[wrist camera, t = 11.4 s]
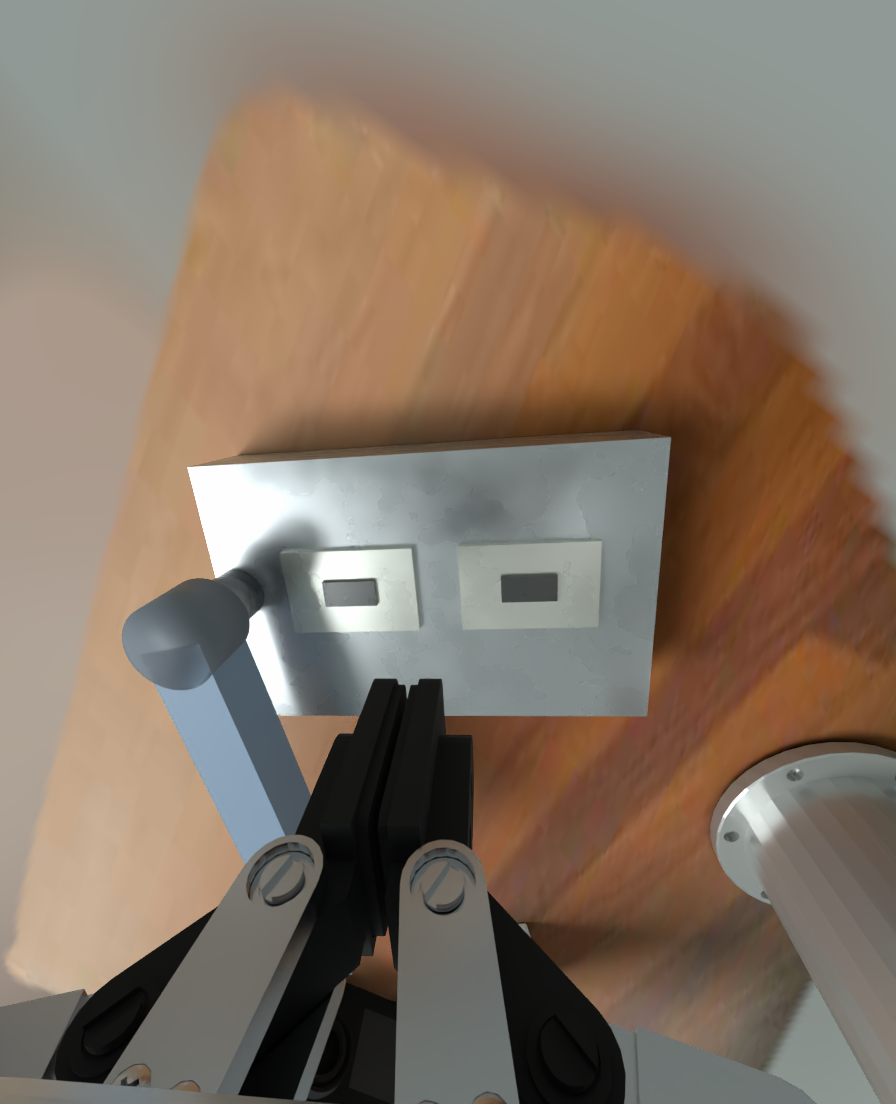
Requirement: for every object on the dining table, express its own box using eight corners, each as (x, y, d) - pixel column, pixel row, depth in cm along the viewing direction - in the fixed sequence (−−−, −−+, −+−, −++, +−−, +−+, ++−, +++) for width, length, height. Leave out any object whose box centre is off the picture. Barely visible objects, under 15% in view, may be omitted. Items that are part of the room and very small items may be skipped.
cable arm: (156, 585, 19) (102, 615, 16) (233, 569, 18) (189, 599, 16) (309, 915, 25) (288, 977, 22) (370, 911, 24) (356, 974, 22)
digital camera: (431, 1005, 37) (418, 1136, 31) (406, 1037, 39) (389, 1167, 33) (315, 959, 37) (277, 1082, 30) (295, 994, 39) (255, 1117, 32)
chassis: (639, 429, 21) (695, 442, 15) (623, 668, 25) (663, 750, 19) (233, 455, 23) (146, 476, 17) (281, 671, 28) (224, 745, 22)
